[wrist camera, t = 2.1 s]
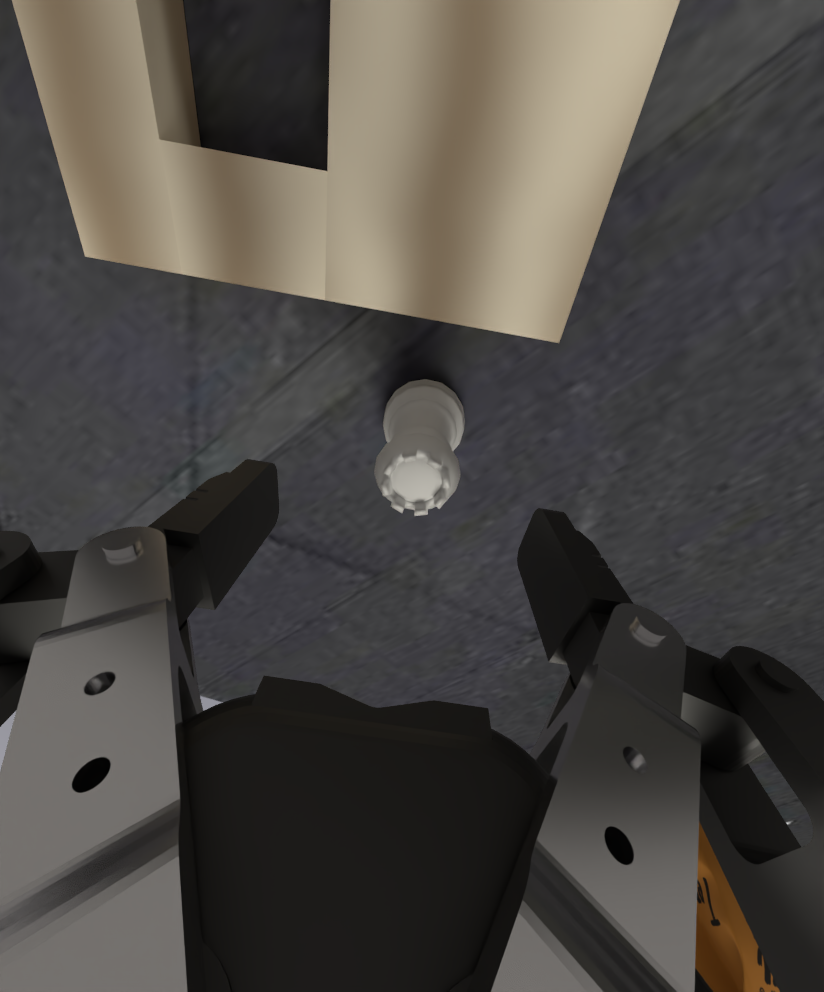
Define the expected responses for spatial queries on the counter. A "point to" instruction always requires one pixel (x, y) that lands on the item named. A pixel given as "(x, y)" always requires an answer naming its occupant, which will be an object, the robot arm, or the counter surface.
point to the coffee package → (725, 933)
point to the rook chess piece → (420, 446)
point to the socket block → (363, 152)
